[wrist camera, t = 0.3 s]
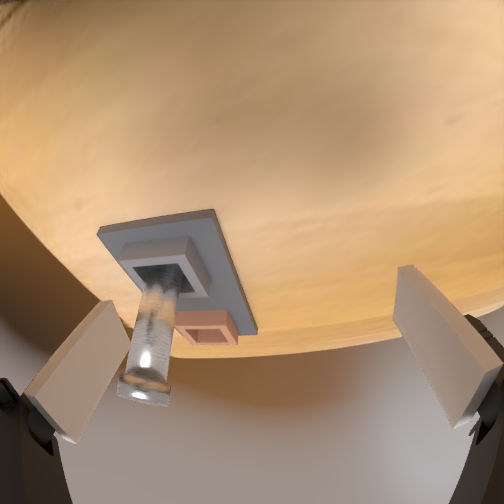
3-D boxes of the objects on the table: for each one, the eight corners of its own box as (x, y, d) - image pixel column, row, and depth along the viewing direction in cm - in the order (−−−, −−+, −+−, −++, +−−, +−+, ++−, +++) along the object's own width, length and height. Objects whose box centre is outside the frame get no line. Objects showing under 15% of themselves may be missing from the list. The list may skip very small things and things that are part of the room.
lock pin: (141, 250, 30) (105, 390, 19) (180, 246, 29) (152, 399, 19) (158, 275, 33) (134, 402, 23) (195, 273, 33) (177, 408, 23)
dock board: (100, 226, 28) (88, 251, 26) (213, 208, 26) (208, 237, 24) (183, 330, 50) (181, 348, 47) (257, 328, 48) (257, 348, 45)
